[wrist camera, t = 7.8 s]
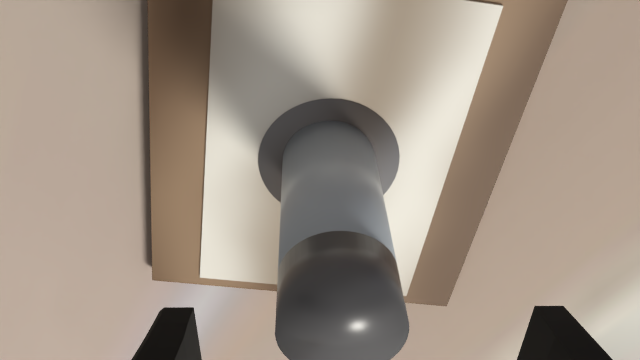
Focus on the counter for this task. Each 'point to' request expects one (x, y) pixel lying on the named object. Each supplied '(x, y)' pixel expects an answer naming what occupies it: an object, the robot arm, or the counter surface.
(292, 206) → the cylinder
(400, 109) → the board
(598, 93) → the counter surface
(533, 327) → the robot arm
